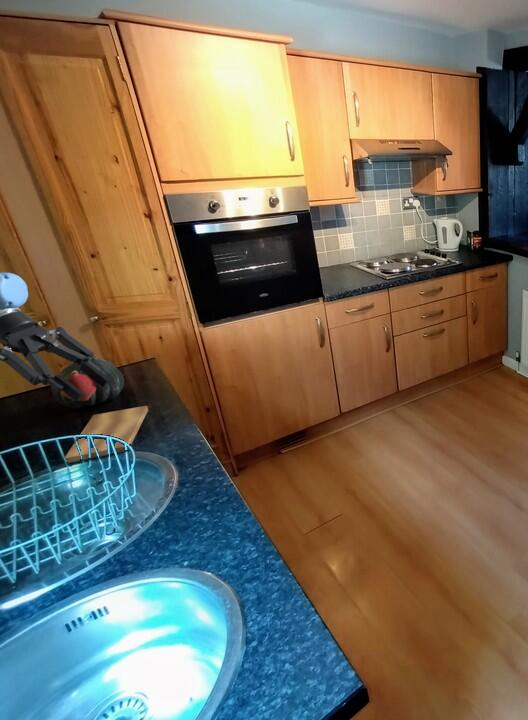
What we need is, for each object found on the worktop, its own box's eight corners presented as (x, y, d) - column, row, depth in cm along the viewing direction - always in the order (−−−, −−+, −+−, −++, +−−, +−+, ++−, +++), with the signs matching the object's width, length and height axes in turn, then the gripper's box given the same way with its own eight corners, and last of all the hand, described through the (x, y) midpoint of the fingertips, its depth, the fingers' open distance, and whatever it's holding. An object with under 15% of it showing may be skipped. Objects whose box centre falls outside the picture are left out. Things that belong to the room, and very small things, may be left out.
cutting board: (66, 463, 108) (63, 458, 107) (95, 419, 124) (93, 414, 123) (128, 450, 112) (126, 445, 112) (148, 409, 129) (146, 405, 128)
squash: (37, 389, 127) (44, 360, 120) (98, 368, 140) (108, 340, 133) (71, 426, 127) (80, 399, 120) (129, 402, 141) (140, 375, 133)
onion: (78, 409, 105) (65, 379, 102) (63, 404, 107) (49, 374, 104) (106, 397, 110) (94, 368, 107) (91, 392, 112) (79, 364, 109)
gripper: (43, 316, 112) (123, 379, 117) (-53, 348, 95) (46, 420, 100) (53, 297, 109) (135, 363, 114) (-44, 327, 92) (57, 402, 97)
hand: (93, 390), depth 107 cm, fingers closed on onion, 6 cm apart
